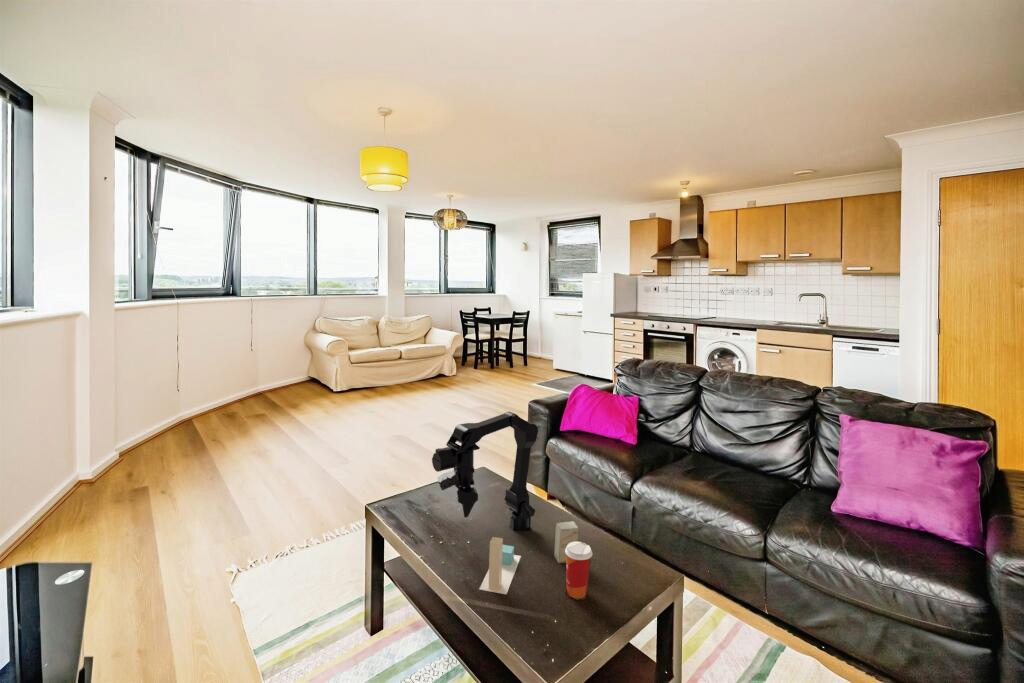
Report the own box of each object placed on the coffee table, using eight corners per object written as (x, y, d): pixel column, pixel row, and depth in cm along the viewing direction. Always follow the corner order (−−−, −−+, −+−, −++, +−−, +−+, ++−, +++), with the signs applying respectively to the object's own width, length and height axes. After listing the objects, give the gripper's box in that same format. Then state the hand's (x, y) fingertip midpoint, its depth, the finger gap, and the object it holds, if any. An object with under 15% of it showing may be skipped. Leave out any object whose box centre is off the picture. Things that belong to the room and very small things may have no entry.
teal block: (501, 556, 149) (501, 544, 149) (513, 558, 148) (514, 546, 148) (498, 563, 145) (498, 551, 145) (510, 565, 144) (511, 553, 144)
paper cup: (572, 581, 139) (574, 537, 137) (595, 593, 134) (597, 547, 132) (557, 594, 133) (559, 548, 131) (580, 607, 128) (583, 559, 126)
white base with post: (496, 554, 151) (498, 510, 150) (521, 558, 150) (522, 514, 148) (478, 592, 133) (480, 542, 131) (506, 597, 131) (507, 547, 129)
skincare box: (558, 566, 146) (560, 529, 145) (553, 558, 151) (555, 522, 149) (577, 563, 148) (579, 527, 147) (571, 555, 152) (573, 520, 151)
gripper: (437, 455, 157) (437, 499, 159) (441, 478, 139) (441, 527, 141) (470, 453, 160) (469, 496, 162) (478, 475, 142) (478, 523, 144)
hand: (464, 510), depth 152 cm, fingers open, 9 cm apart
